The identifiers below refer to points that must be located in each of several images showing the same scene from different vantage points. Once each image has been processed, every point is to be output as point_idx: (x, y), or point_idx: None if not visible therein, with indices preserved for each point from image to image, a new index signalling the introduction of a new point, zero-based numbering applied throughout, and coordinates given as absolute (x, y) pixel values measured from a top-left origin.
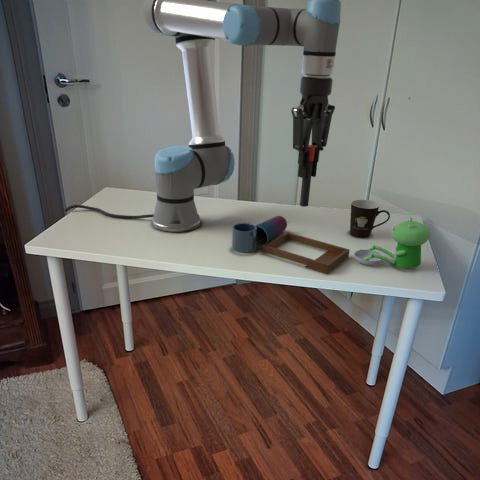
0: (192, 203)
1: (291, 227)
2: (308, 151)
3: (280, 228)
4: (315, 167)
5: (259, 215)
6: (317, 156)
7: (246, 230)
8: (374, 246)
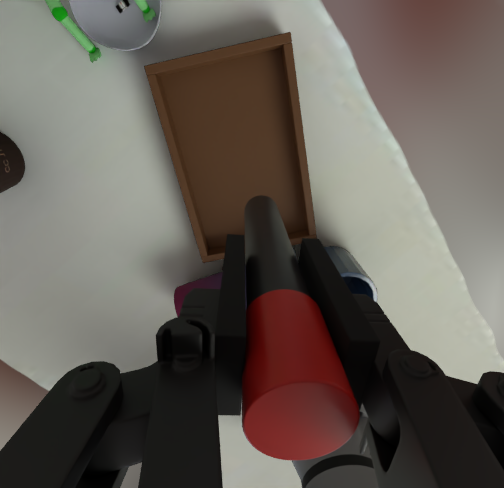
0: None
1: (137, 297)
2: (340, 363)
3: (216, 278)
4: (238, 259)
5: None
6: (227, 302)
7: None
8: (59, 9)
